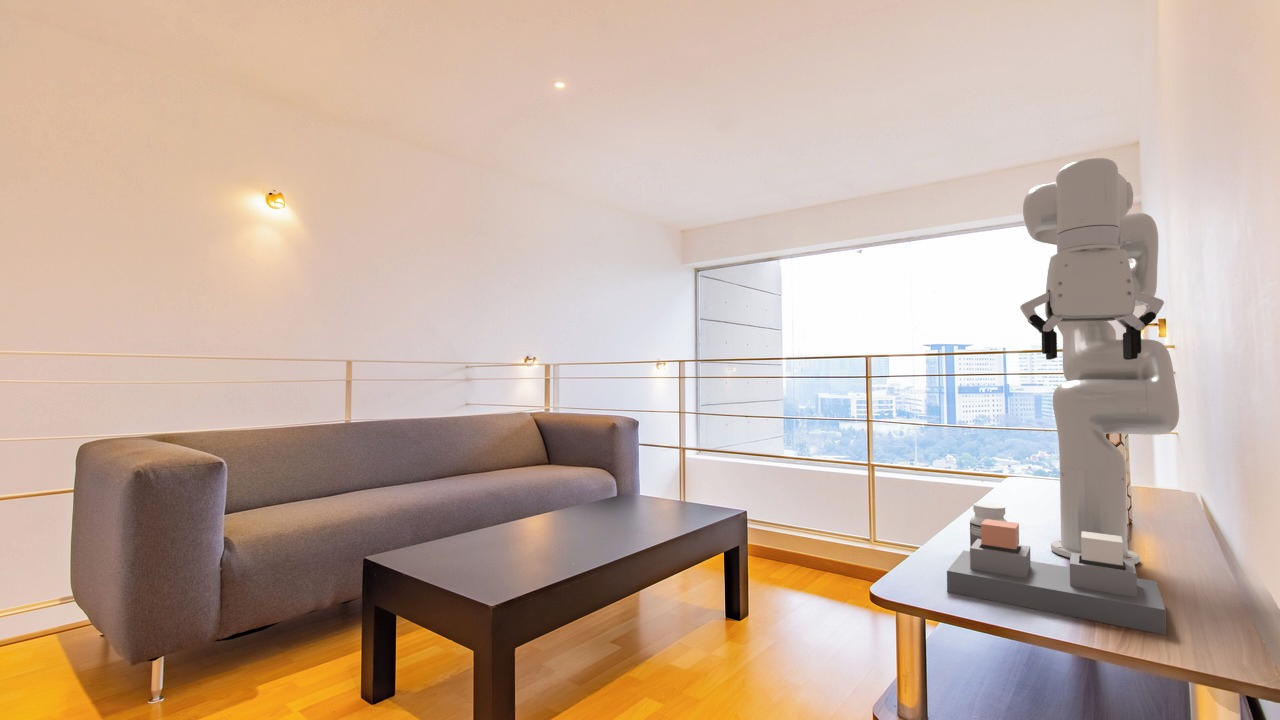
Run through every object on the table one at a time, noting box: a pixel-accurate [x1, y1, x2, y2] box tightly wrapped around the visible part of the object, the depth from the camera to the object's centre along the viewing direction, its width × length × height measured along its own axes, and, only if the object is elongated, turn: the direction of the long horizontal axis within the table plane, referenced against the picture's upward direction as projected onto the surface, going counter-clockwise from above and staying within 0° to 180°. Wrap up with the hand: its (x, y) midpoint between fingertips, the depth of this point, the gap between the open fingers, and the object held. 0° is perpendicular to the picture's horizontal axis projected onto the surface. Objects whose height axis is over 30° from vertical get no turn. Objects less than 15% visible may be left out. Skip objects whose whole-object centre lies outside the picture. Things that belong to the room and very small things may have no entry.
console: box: [946, 539, 1167, 636], centre depth 85 cm, size 14×24×6 cm, turn 53°
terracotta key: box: [981, 519, 1020, 549], centre depth 89 cm, size 4×4×3 cm
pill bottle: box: [969, 502, 1008, 548], centre depth 101 cm, size 6×6×10 cm
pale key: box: [1081, 531, 1123, 565], centre depth 82 cm, size 4×4×3 cm
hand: (1090, 358), depth 87 cm, fingers open, 9 cm apart
